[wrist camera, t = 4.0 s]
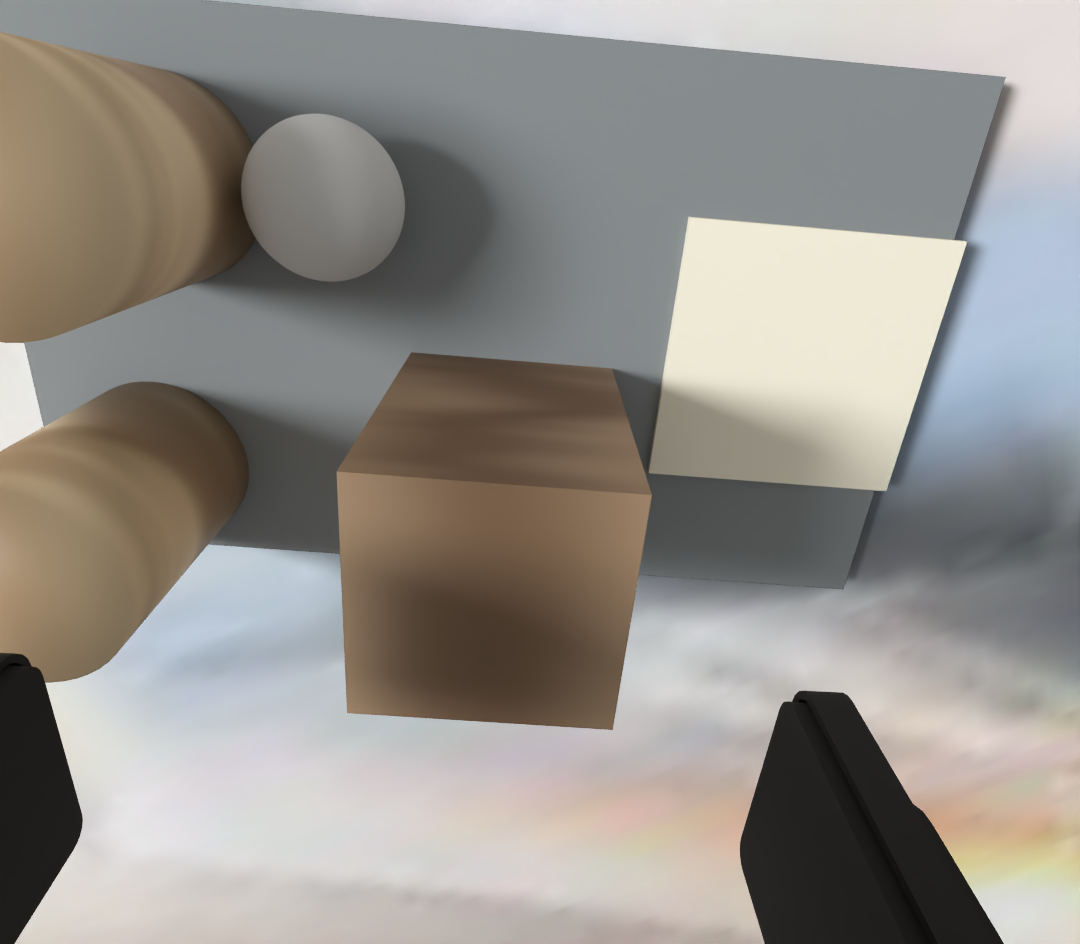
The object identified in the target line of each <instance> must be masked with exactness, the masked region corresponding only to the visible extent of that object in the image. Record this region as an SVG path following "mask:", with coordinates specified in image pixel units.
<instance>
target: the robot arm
mask: <svg viewBox="0 0 1080 944" xmlns="http://www.w3.org/2000/svg"><path fill="white" fill-rule="evenodd" d="M82 821H83V819H82V813H81V809H80V806H79V802H78V799H77V795H76V791H75V788H74V784H73V781H72V777H71V774H70V770H69V766H68V763H67V759H66V756H65V752H64V749H63V745H62V742H61V738H60V734H59V731H58V727H57V724H56V720H55V717H54V713H53V709H52V706H51V702H50V699H49V695H48V692H47V688H46V685H45V681H44V677H43V675H42V672H41V670H40V669H38V668H37V667H32V666H31V664H30V662H29V659H28V658H27V657H25V656H24V655H23V654H15V653H0V944H14V943H15V942H16V940H17V939H18V937H19V935H20V934H21V932H22V931H23V929H24V927H25V926H26V924H27V923H28V921H29V920H30V918H31V916H32V915H33V913H34V912H35V910H36V908H37V907H38V905H39V904H40V902H41V900H42V899H43V897H44V896H45V894H46V893H47V891H48V889H49V888H50V886H51V885H52V883H53V881H54V880H55V878H56V877H57V875H58V874H59V872H60V870H61V869H62V867H63V866H64V864H65V862H66V861H67V859H68V858H69V856H70V854H71V853H72V851H73V850H74V848H75V846H76V844H77V842H78V839H79V837H80V833H81V829H82ZM740 858H741V865H742V869H743V873H744V876H745V880H746V883H747V886H748V889H749V893H750V896H751V899H752V903H753V906H754V909H755V913H756V916H757V919H758V922H759V926H760V929H761V932H762V936H763V939H764V942H765V944H1004V943H1003V941H1002V940H1001V938H1000V936H999V935H998V933H997V931H996V930H995V928H994V926H993V925H992V923H991V921H990V920H989V918H988V916H987V915H986V913H985V911H984V910H983V908H982V906H981V905H980V903H979V901H978V900H977V898H976V896H975V895H974V893H973V891H972V890H971V888H970V886H969V885H968V883H967V881H966V880H965V878H964V876H963V875H962V873H961V871H960V870H959V868H958V866H957V865H956V863H955V861H954V860H953V858H952V856H951V855H950V853H949V851H948V850H947V848H946V846H945V845H944V843H943V841H942V840H941V838H940V836H939V835H938V833H937V831H936V830H935V828H934V826H933V825H932V823H931V822H930V820H929V819H928V818H927V816H926V815H925V814H924V812H923V811H922V810H920V809H919V808H918V807H916V806H915V805H914V804H912V802H911V800H910V799H909V797H908V795H907V793H906V792H905V790H904V788H903V787H902V785H901V783H900V782H899V780H898V778H897V776H896V775H895V773H894V771H893V770H892V768H891V766H890V765H889V763H888V761H887V759H886V758H885V756H884V754H883V753H882V751H881V749H880V748H879V746H878V744H877V742H876V741H875V739H874V737H873V736H872V734H871V732H870V731H869V729H868V727H867V725H866V724H865V722H864V720H863V719H862V717H861V715H860V714H859V712H858V710H857V708H856V707H855V705H854V703H853V702H852V700H851V699H850V698H849V697H848V696H847V695H846V694H844V693H837V692H816V691H799V692H798V693H797V694H796V695H795V696H794V699H793V701H792V702H784V703H783V704H782V705H781V707H780V710H779V713H778V717H777V720H776V723H775V727H774V730H773V733H772V737H771V740H770V743H769V747H768V750H767V753H766V757H765V760H764V763H763V767H762V770H761V773H760V777H759V780H758V783H757V787H756V790H755V793H754V797H753V800H752V803H751V807H750V810H749V814H748V817H747V820H746V824H745V827H744V830H743V834H742V837H741V842H740Z"/></svg>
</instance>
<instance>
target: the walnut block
mask: <svg viewBox="0 0 1080 944" xmlns="http://www.w3.org/2000/svg"><path fill="white" fill-rule="evenodd" d="M337 493H338V516H339V538H340V561H341V584H342V606H343V629H344V651H345V674H346V697H347V713H355V714H371V715H387V716H403V717H419V718H435V719H450V720H466V721H482V722H498V723H514V724H529V725H545V726H561V727H577V728H593V729H608V730H613V724H614V718H615V712H616V706H617V700H618V694H619V688H620V682H621V676H622V670H623V664H624V658H625V652H626V647H627V641H628V635H629V629H630V623H631V617H632V611H633V605H634V599H635V593H636V587H637V581H638V575H639V569H640V563H641V557H642V551H643V545H644V539H645V533H646V527H647V521H648V515H649V509H650V503H651V497H652V494H651V491H650V488H649V484H648V481H647V478H646V475H645V472H644V469H643V465H642V462H641V459H640V456H639V453H638V450H637V446H636V443H635V440H634V437H633V434H632V431H631V427H630V424H629V421H628V418H627V415H626V412H625V408H624V405H623V402H622V399H621V396H620V393H619V389H618V386H617V383H616V380H615V377H614V373H613V370H612V368H601V367H588V366H576V365H563V364H551V363H539V362H526V361H514V360H501V359H489V358H476V357H464V356H452V355H439V354H427V353H414V352H411V353H410V355H409V357H408V358H407V360H406V361H405V363H404V365H403V366H402V368H401V369H400V371H399V373H398V374H397V376H396V377H395V379H394V381H393V382H392V384H391V385H390V387H389V389H388V390H387V392H386V393H385V395H384V397H383V398H382V400H381V401H380V403H379V405H378V406H377V408H376V409H375V411H374V413H373V414H372V416H371V417H370V419H369V421H368V422H367V424H366V425H365V427H364V429H363V430H362V432H361V433H360V435H359V437H358V438H357V440H356V441H355V443H354V445H353V446H352V448H351V449H350V451H349V453H348V454H347V456H346V457H345V459H344V461H343V462H342V464H341V465H340V467H339V468H338V470H337Z"/></svg>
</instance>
